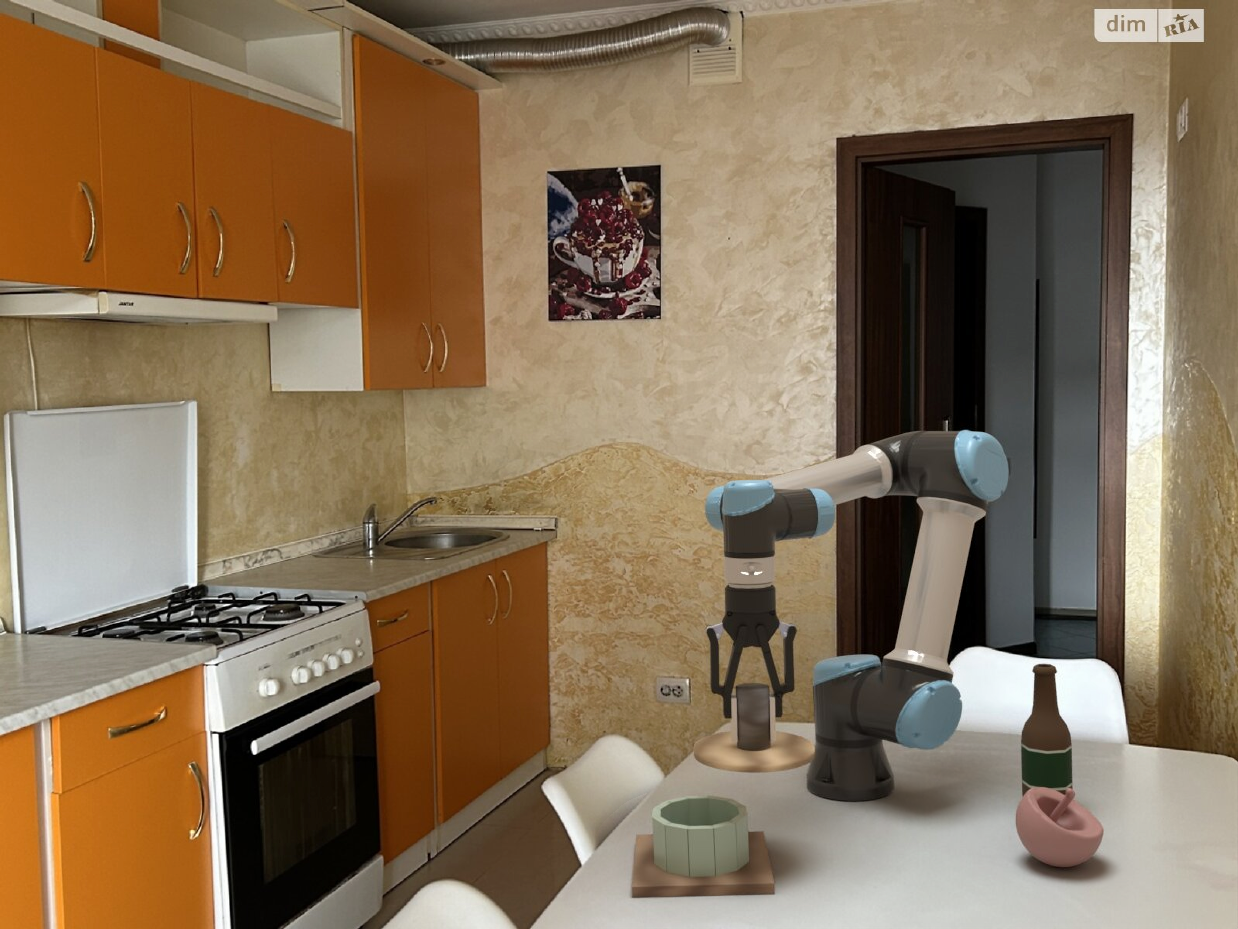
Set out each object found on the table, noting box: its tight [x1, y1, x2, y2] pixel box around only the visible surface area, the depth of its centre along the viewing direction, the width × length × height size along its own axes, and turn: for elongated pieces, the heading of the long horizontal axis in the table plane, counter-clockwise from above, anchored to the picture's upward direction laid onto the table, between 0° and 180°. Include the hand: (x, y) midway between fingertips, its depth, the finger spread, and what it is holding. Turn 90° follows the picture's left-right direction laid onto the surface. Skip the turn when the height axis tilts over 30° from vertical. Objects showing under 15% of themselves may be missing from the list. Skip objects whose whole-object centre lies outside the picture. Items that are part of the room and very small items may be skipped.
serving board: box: [631, 830, 776, 898], centre depth 180 cm, size 20×20×2 cm
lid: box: [693, 682, 815, 774], centre depth 180 cm, size 18×18×10 cm
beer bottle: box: [1020, 663, 1074, 798], centre depth 196 cm, size 8×8×24 cm
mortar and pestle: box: [1015, 787, 1105, 868], centre depth 175 cm, size 12×12×11 cm
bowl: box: [651, 794, 749, 877], centre depth 179 cm, size 14×14×7 cm
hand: (753, 738), depth 180 cm, fingers closed on lid, 5 cm apart
